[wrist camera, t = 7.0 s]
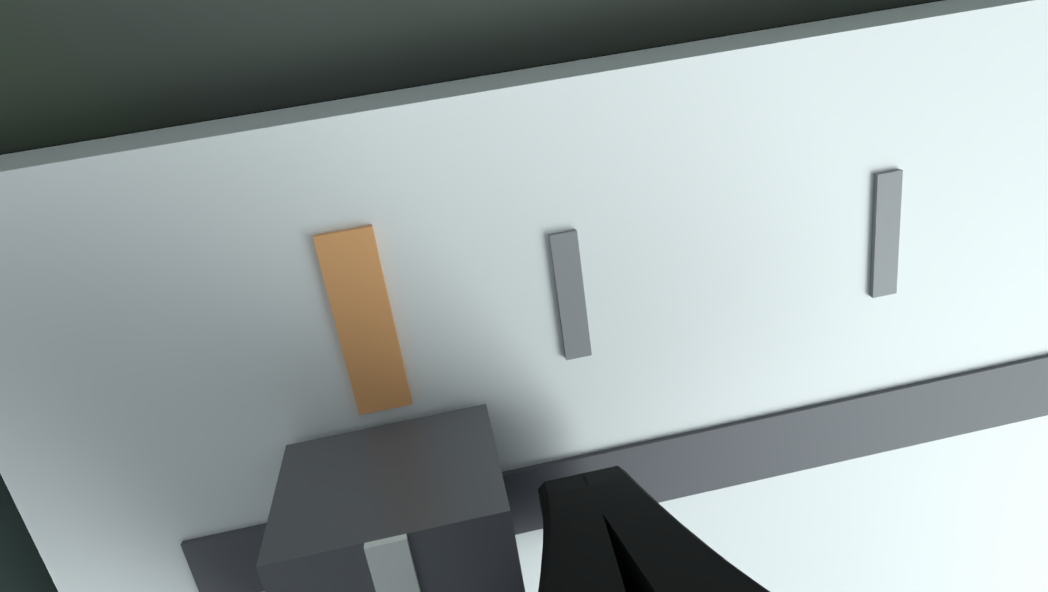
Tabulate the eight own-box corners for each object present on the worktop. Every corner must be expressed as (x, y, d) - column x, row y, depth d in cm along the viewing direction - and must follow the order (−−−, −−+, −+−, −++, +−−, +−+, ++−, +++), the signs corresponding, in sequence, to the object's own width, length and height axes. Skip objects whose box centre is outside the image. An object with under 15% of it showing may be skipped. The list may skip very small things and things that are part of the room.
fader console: (1182, 527, 18) (1277, 589, 16) (215, 764, 16) (190, 869, 14) (1325, -62, 13) (1486, -75, 11) (-49, 162, 11) (-144, 196, 9)
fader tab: (522, 604, 13) (554, 747, 10) (347, 645, 13) (336, 803, 10) (485, 403, 11) (512, 515, 9) (285, 445, 11) (255, 572, 9)
